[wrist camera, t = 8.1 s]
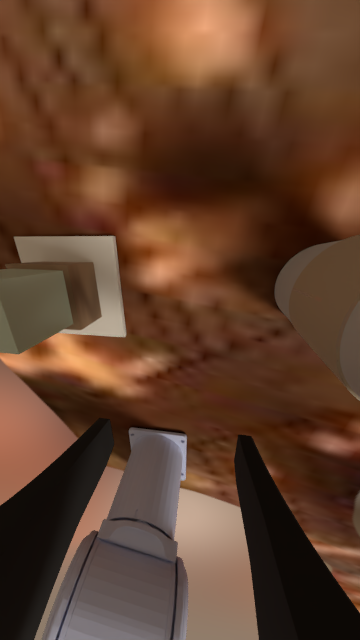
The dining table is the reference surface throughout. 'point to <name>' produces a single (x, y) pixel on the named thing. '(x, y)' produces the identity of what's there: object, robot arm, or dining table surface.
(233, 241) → the dining table surface
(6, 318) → the sage block
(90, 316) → the walnut block
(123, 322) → the stone tile
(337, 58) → the dining table surface
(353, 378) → the coffee cup
